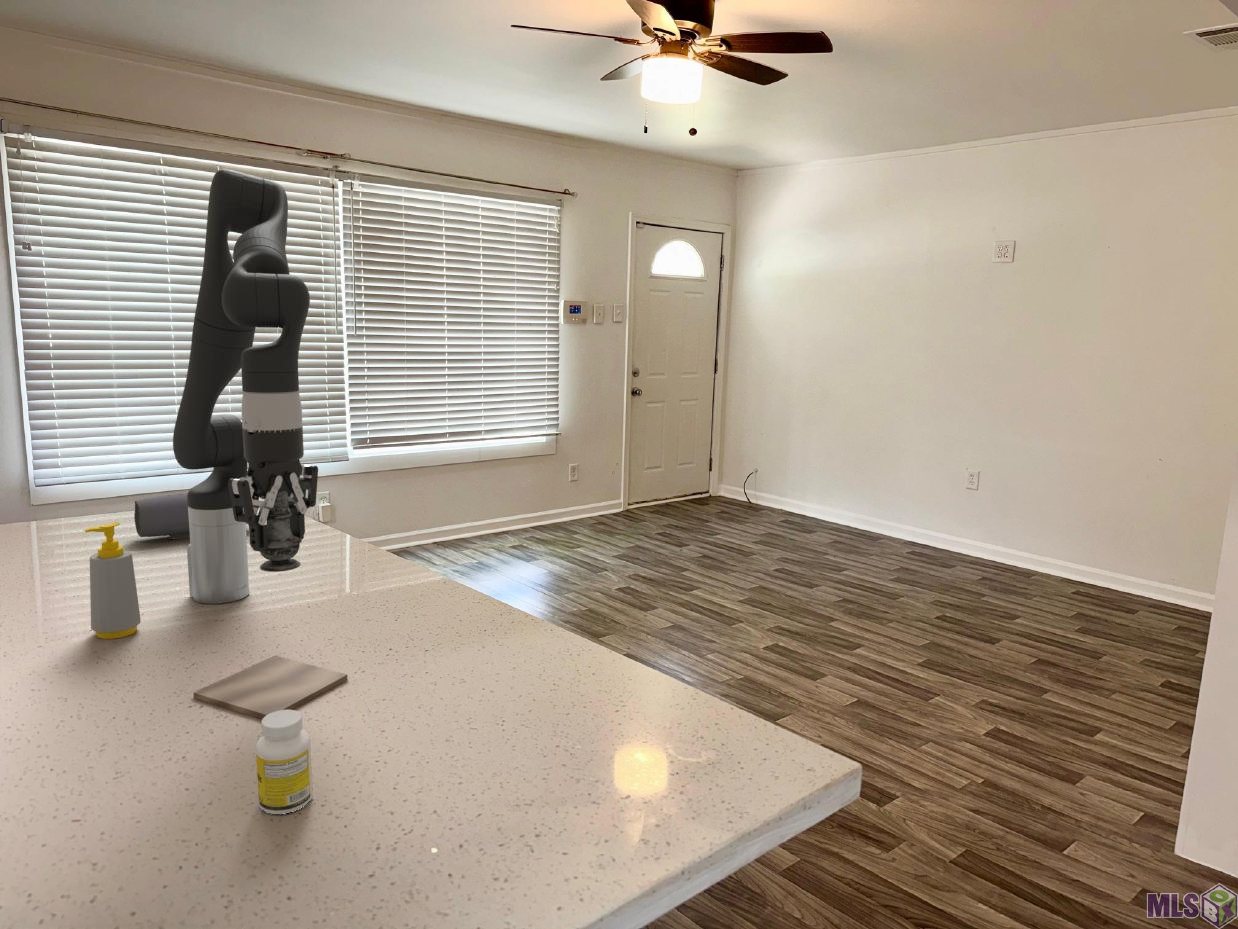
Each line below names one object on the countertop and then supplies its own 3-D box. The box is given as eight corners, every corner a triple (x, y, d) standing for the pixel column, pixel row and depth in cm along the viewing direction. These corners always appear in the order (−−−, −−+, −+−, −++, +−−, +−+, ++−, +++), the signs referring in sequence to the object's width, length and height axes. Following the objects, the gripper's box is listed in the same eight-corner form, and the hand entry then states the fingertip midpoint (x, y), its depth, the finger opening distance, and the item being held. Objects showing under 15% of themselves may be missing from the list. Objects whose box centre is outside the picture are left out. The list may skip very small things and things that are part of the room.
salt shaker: (310, 561, 116) (306, 478, 114) (290, 573, 110) (286, 486, 108) (270, 559, 117) (266, 476, 114) (248, 571, 111) (244, 484, 109)
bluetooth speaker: (241, 524, 199) (240, 484, 197) (253, 532, 192) (251, 491, 190) (135, 537, 184) (132, 494, 182) (143, 547, 177) (140, 502, 175)
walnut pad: (193, 698, 110) (193, 692, 110) (275, 660, 123) (274, 655, 123) (270, 721, 105) (270, 716, 105) (347, 679, 117) (347, 674, 117)
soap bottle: (81, 634, 130) (72, 525, 126) (125, 621, 136) (117, 516, 133) (107, 644, 126) (98, 532, 123) (150, 630, 133) (143, 523, 129)
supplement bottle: (268, 788, 90) (264, 706, 89) (318, 787, 91) (316, 705, 89) (250, 817, 85) (246, 731, 83) (304, 816, 86) (301, 730, 84)
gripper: (291, 417, 118) (296, 530, 121) (207, 428, 105) (215, 554, 108) (332, 421, 115) (336, 536, 118) (250, 432, 102) (257, 562, 105)
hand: (278, 544), depth 113 cm, fingers closed on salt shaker, 6 cm apart
